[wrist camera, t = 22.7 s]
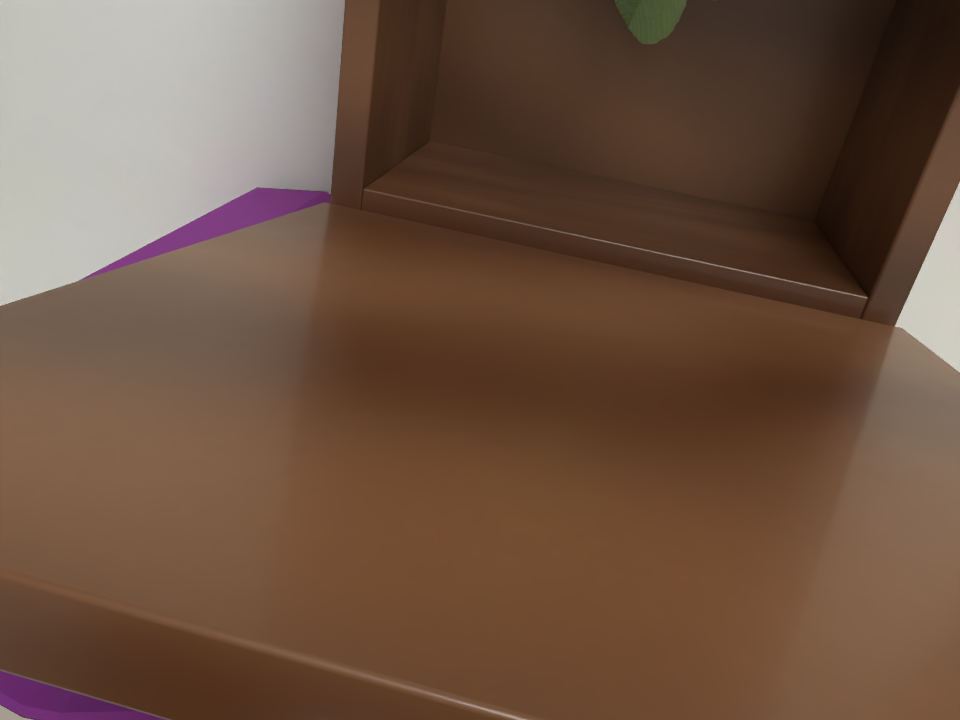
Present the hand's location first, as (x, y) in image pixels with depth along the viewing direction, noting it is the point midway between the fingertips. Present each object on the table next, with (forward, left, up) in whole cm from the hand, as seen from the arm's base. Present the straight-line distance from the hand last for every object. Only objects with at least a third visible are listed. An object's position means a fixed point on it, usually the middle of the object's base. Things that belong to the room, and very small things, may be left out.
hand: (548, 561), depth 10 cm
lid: (-2, 0, -2) cm, 3 cm away
